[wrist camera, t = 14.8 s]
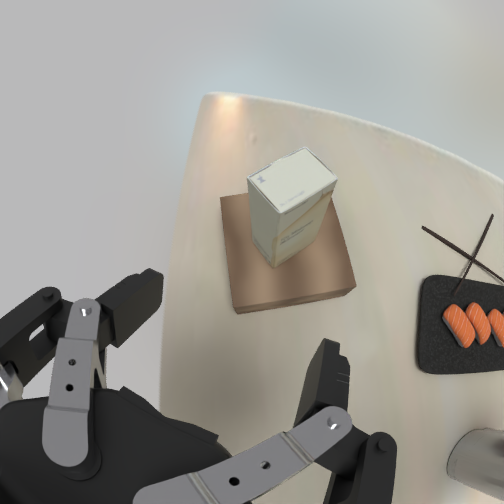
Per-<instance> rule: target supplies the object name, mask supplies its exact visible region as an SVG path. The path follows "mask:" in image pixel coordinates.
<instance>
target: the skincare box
mask: <svg viewBox="0 0 504 504" xmlns="http://www.w3.org/2000/svg"><path fill="white" fill-rule="evenodd" d="M337 179H338V178H337V176H336V175H335V174H334V173H333V172H332V171H331V170H330V169H329V168H328V167H327V166H326V165H325V164H324V163H323V162H322V161H321V160H320V159H319V158H318V157H317V156H316V155H315V154H314V153H312V152H311V151H310V150H309V149H308V148H307V147H302V148H300V149H298V150H296V151H294V152H292V153H290V154H288V155H286V156H284V157H282V158H280V159H278V160H276V161H274V162H273V163H271V164H269V165H267V166H265V167H264V168H262V169H260V170H258V171H256V172H255V173H253V174H251V175H249V176H248V177H247V182H248V193H249V206H250V217H251V229H252V240H253V243H254V244H255V245H256V247H257V248H258V249H259V251H260V252H261V254H262V255H263V256H264V258H265V259H266V260H267V261H268V263H269V264H270V265H271V266H272V267H273V268H275V267H277V266H278V265H280V264H281V263H283V262H284V261H286V260H288V259H289V258H291V257H292V256H294V255H295V254H297V253H298V252H299V251H301V250H302V249H304V248H305V247H307V246H308V245H310V244H311V243H312V242H314V241H315V238H316V236H317V233H318V231H319V228H320V226H321V223H322V220H323V218H324V215H325V212H326V210H327V207H328V204H329V202H330V199H331V196H332V193H333V190H334V188H335V185H336V182H337Z"/></svg>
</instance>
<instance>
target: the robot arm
mask: <svg viewBox="0 0 504 504" xmlns="http://www.w3.org/2000/svg"><path fill="white" fill-rule="evenodd" d="M163 279H164V277H163V274H161V273H159V272H157V271H155V270H153V269H150V268H149V269H146V270H145V271H144V272H142V273H141V274H134V275H130V276H127V277H126V278H125V279H123V280H122V281H121V282H119V283H117V284H116V285H115V286H113V287H112V288H110V289H109V290H108V291H106V292H105V293H103V294H102V295H101V296H99V297H98V298H96V299H95V300H93V299H89V298H84V299H80V300H78V301H76V302H75V303H73V302H69V301H67V300H64V299H62V297H61V292H60V291H59V290H58V289H57V288H55V287H45V288H42V289H40V290H39V291H37V292H36V293H35V294H33V295H32V296H31V297H29V298H28V299H26V300H25V301H24V302H22V303H21V304H19V305H18V306H17V307H15V309H13V310H11V311H10V312H9V313H7V314H6V315H5V316H3V317H2V318H1V319H0V504H252V502H251V501H253V500H255V499H257V498H259V497H260V496H262V495H264V494H266V493H267V492H269V491H271V490H272V489H274V488H276V487H277V486H279V485H280V484H282V483H284V482H285V481H287V480H288V479H290V478H291V477H293V476H294V475H296V474H297V473H299V472H300V471H302V470H303V469H305V468H306V467H307V466H309V465H310V464H312V463H313V462H316V463H318V464H319V465H321V466H323V467H325V468H326V469H328V470H330V471H332V474H331V477H330V481H329V485H328V488H327V492H326V495H325V499H324V502H323V504H391V502H392V495H393V488H394V479H395V469H396V456H397V445H396V442H395V440H394V439H393V438H392V437H391V436H390V435H389V434H387V433H384V432H376V433H374V434H372V435H371V436H370V435H368V434H366V433H364V432H363V431H361V430H359V429H357V428H356V427H355V426H354V425H353V424H352V419H351V417H350V415H349V414H348V413H347V407H348V394H349V379H350V377H349V376H350V365H349V362H348V360H347V358H346V357H345V356H341V355H339V350H340V343H338V342H335V341H332V340H329V339H326V338H324V339H323V340H322V342H321V344H320V346H319V348H318V349H317V351H316V353H315V355H314V356H313V358H312V360H311V362H310V364H309V367H308V369H307V373H306V377H305V382H304V386H303V390H302V395H301V399H300V403H299V407H298V411H297V415H296V418H295V422H294V426H293V429H292V430H290V431H288V432H286V433H285V432H281V433H278V434H276V435H275V436H273V437H271V438H269V439H267V440H266V441H264V442H262V443H260V444H258V445H256V446H254V447H252V448H250V449H248V450H246V451H244V452H242V453H240V454H238V455H236V456H234V457H232V455H231V454H230V453H229V452H228V451H227V450H226V449H225V448H224V447H223V446H222V445H221V444H219V443H218V442H217V439H218V436H219V435H217V434H214V433H212V432H210V431H207V430H205V429H203V428H201V427H198V426H196V425H194V424H190V423H186V422H182V421H178V420H174V419H170V418H167V417H165V416H163V415H162V414H161V413H160V412H158V411H157V410H156V409H155V408H154V407H153V406H152V405H151V404H150V403H149V402H147V401H146V400H145V399H144V398H142V397H141V396H139V395H137V394H136V393H134V392H132V391H131V390H129V389H128V388H126V387H124V386H123V387H122V388H121V389H120V391H117V390H113V389H107V386H106V358H107V356H106V355H107V348H106V347H107V346H108V345H109V344H112V345H113V346H115V347H116V348H118V347H120V346H121V345H122V344H123V343H124V342H125V341H126V340H127V339H128V338H129V337H130V336H131V335H132V334H133V333H134V332H135V331H136V330H137V329H138V328H139V327H140V326H141V325H142V324H143V323H144V322H145V321H147V320H148V319H149V318H150V317H151V316H152V315H153V314H154V313H155V312H156V311H157V310H158V308H159V307H160V305H161V302H162V294H163ZM42 324H43V326H44V329H43V330H42V331H41V332H40V333H38V334H37V335H36V336H35V337H34V338H33V339H32V340H30V341H29V337H30V335H31V333H32V332H33V331H35V330H36V329H37V328H38V327H39V326H40V325H42ZM53 357H55V361H54V366H53V371H52V378H51V385H50V393H49V396H48V397H40V398H32V399H23V398H22V393H23V388H24V387H25V386H26V385H27V384H28V382H30V381H31V379H32V378H33V377H34V376H35V375H36V374H37V373H38V372H39V371H40V370H41V369H42V368H43V367H44V366H45V365H46V364H47V363H48V362H49V361H50V360H52V358H53ZM447 472H448V475H449V476H450V477H451V478H453V479H455V480H457V481H459V482H461V483H463V484H465V485H467V486H469V487H471V488H474V489H476V490H478V491H480V492H483V493H485V494H487V495H490V496H492V497H495V498H497V499H500V500H502V501H504V431H502V430H495V429H489V428H485V429H484V430H480V429H476V430H473V431H471V432H469V433H467V434H466V435H465V436H464V437H463V438H462V439H461V440H460V441H459V442H458V444H457V445H456V446H455V448H454V450H453V452H452V454H451V456H450V458H449V461H448V466H447Z"/></svg>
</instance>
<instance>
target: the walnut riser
mask: <svg viewBox="0 0 504 504" xmlns="http://www.w3.org/2000/svg"><path fill="white" fill-rule="evenodd" d="M220 201H221V211H222V220H223V228H224V237H225V246H226V254H227V262H228V270H229V278H230V286H231V294H232V301H233V308H234V309H235V311H236V312H237V314H243V313H250V312H256V311H263V310H269V309H275V308H281V307H287V306H293V305H299V304H304V303H310V302H315V301H320V300H326V299H331V298H336V297H341V296H345V295H346V294H347V293H349V292H350V291H351V290H352V289H354V288H355V287H356V282H355V278H354V274H353V270H352V266H351V262H350V258H349V255H348V251H347V247H346V244H345V240H344V237H343V233H342V230H341V227H340V223H339V220H338V217H337V213H336V210H335V207H334V204H333V201H332V198H331V199H330V202H329V204H328V207H327V210H326V212H325V215H324V218H323V220H322V223H321V226H320V228H319V231H318V233H317V236H316V238H315V241H314V242H312V243H311V244H310V245H308V246H307V247H305V248H304V249H302V250H301V251H299V252H298V253H297V254H295V255H294V256H292V257H291V258H289V259H288V260H286V261H284V262H283V263H281V264H280V265H278V266H277V267H275V268H273V267H272V266H271V265H270V264H269V263H268V261H267V260H266V259H265V258H264V256H263V255H262V254H261V252H260V251H259V249H258V248H257V247H256V245H255V244H254V243H253V240H252V229H251V217H250V206H249V193H245V194H238V195H232V196H225V197H220Z"/></svg>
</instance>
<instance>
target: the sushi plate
mask: <svg viewBox="0 0 504 504" xmlns="http://www.w3.org/2000/svg"><path fill="white" fill-rule="evenodd" d="M493 216H494V215H493V214H492V215H491V217H490V219H489V221H488V224H487V226H486V228H485V231H484V233H483V236H482V238H481V240H480V243H479V245H478V247H477V250H476V252H475V254H474V256H473V257H471V256H470V255H468V254H467V253H466V252H464V251H463V250H461V249H460V248H458V247H457V246H455V245H454V244H452V243H450V242H449V241H447V240H446V239H444V238H443V237H441V236H439V235H438V234H436V233H434V232H433V231H431V230H429V229H428V228H426V227H424V226H422V229H423V230H425V231H426V232H428V233H429V234H431V235H432V236H434V237H435V238H437V239H438V240H440V241H441V242H443V243H444V244H446V245H447V246H449V247H451V248H452V249H454V250H456V251H457V252H459V253H461V254H462V255H464V256H466V257H467V258H469V259H470V260H471V262H470V264H469V266H468V268H467V270H466V272H465V274H464V276H463V278H458V277H452V276H445V275H432V276H429V277H427V278H426V279H425V281H424V284H423V288H422V295H421V310H420V327H419V341H418V361H419V365H420V368H421V369H422V370H423V371H425V372H427V373H430V374H465V373H478V372H489V371H498V370H504V286H501V285H495V284H490V283H485V282H479V281H474V280H469V279H465V277H466V275H467V273H468V271H469V269H470V267H471V265H472V263H473V262H475V263H477V264H478V265H480V266H481V267H483V268H484V269H486V270H487V271H489V272H490V273H491V274H493V275H494V276H496V277H497V278H498V279H500V280H501V281H503V282H504V280H503V279H502V278H501V277H499V276H498V275H497V274H495V273H494V272H493V271H491V270H490V269H488V268H487V267H486V266H484V265H483V264H481V263H480V262H479V261H477V260H476V259H475V257H476V255H477V253H478V251H479V249H480V247H481V245H482V242H483V240H484V238H485V236H486V234H487V231H488V229H489V227H490V224H491V222H492V219H493Z"/></svg>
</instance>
